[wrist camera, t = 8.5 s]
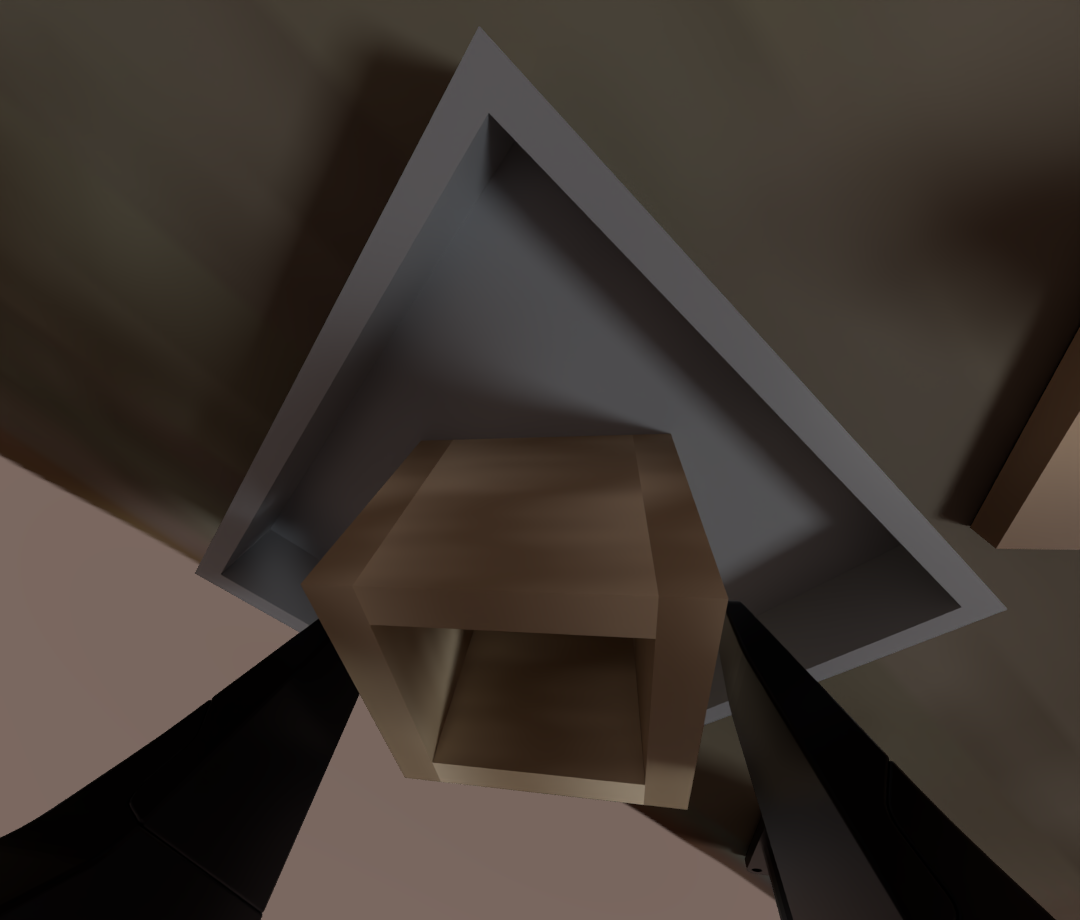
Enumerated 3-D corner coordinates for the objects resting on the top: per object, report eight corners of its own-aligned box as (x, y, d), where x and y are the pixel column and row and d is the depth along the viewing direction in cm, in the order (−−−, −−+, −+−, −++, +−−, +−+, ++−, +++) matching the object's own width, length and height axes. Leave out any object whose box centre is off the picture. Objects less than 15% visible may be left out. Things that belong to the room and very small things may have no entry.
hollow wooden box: (670, 433, 10) (728, 598, 5) (654, 653, 14) (680, 846, 9) (420, 440, 11) (300, 584, 6) (475, 643, 15) (424, 814, 10)
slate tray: (925, 532, 11) (1007, 609, 8) (566, 710, 17) (561, 779, 15) (515, 86, 7) (479, 26, 5) (258, 518, 14) (195, 573, 11)
